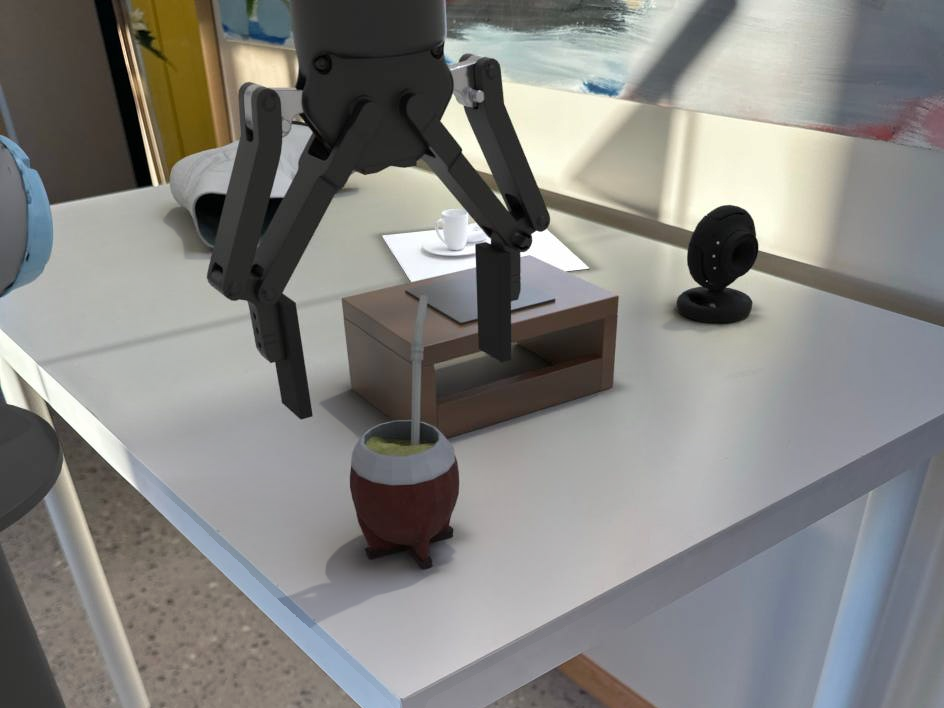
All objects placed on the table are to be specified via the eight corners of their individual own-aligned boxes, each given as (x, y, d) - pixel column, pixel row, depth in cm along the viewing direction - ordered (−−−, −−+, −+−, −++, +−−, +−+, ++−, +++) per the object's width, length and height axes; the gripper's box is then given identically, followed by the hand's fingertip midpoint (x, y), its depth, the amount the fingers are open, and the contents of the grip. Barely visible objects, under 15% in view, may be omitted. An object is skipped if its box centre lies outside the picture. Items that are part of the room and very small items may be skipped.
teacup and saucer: (486, 234, 119) (485, 199, 116) (503, 254, 113) (503, 217, 110) (416, 242, 117) (413, 206, 115) (430, 262, 111) (428, 225, 109)
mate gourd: (380, 585, 62) (355, 361, 53) (340, 526, 68) (311, 314, 58) (484, 555, 64) (480, 336, 55) (438, 501, 70) (426, 293, 61)
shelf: (351, 388, 85) (340, 295, 80) (528, 339, 93) (529, 252, 88) (423, 445, 77) (416, 345, 72) (613, 387, 84) (619, 292, 79)
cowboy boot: (155, 141, 128) (174, 189, 109) (356, 103, 133) (405, 144, 115) (177, 215, 134) (197, 273, 116) (367, 176, 139) (416, 226, 121)
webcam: (709, 330, 94) (723, 222, 87) (659, 307, 99) (669, 203, 92) (768, 313, 97) (786, 207, 90) (716, 292, 102) (730, 190, 95)
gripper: (121, -23, 38) (227, 462, 51) (623, -63, 48) (602, 352, 61) (73, -32, 43) (181, 411, 56) (536, -67, 53) (534, 317, 66)
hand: (400, 381), depth 59 cm, fingers open, 13 cm apart
